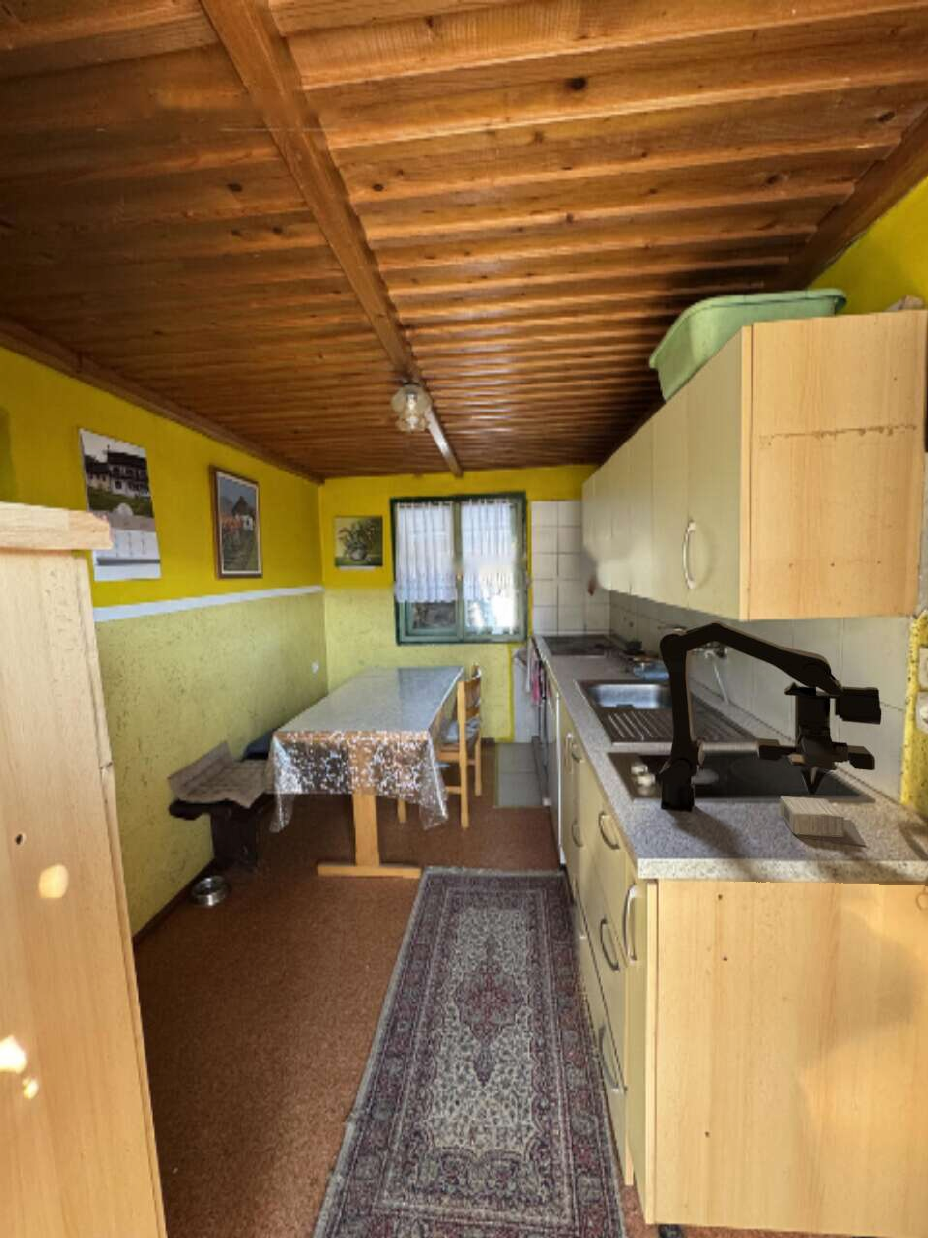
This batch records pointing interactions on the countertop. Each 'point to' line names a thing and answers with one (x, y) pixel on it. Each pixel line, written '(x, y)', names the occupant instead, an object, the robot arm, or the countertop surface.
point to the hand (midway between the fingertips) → (811, 794)
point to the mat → (849, 837)
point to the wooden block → (812, 816)
